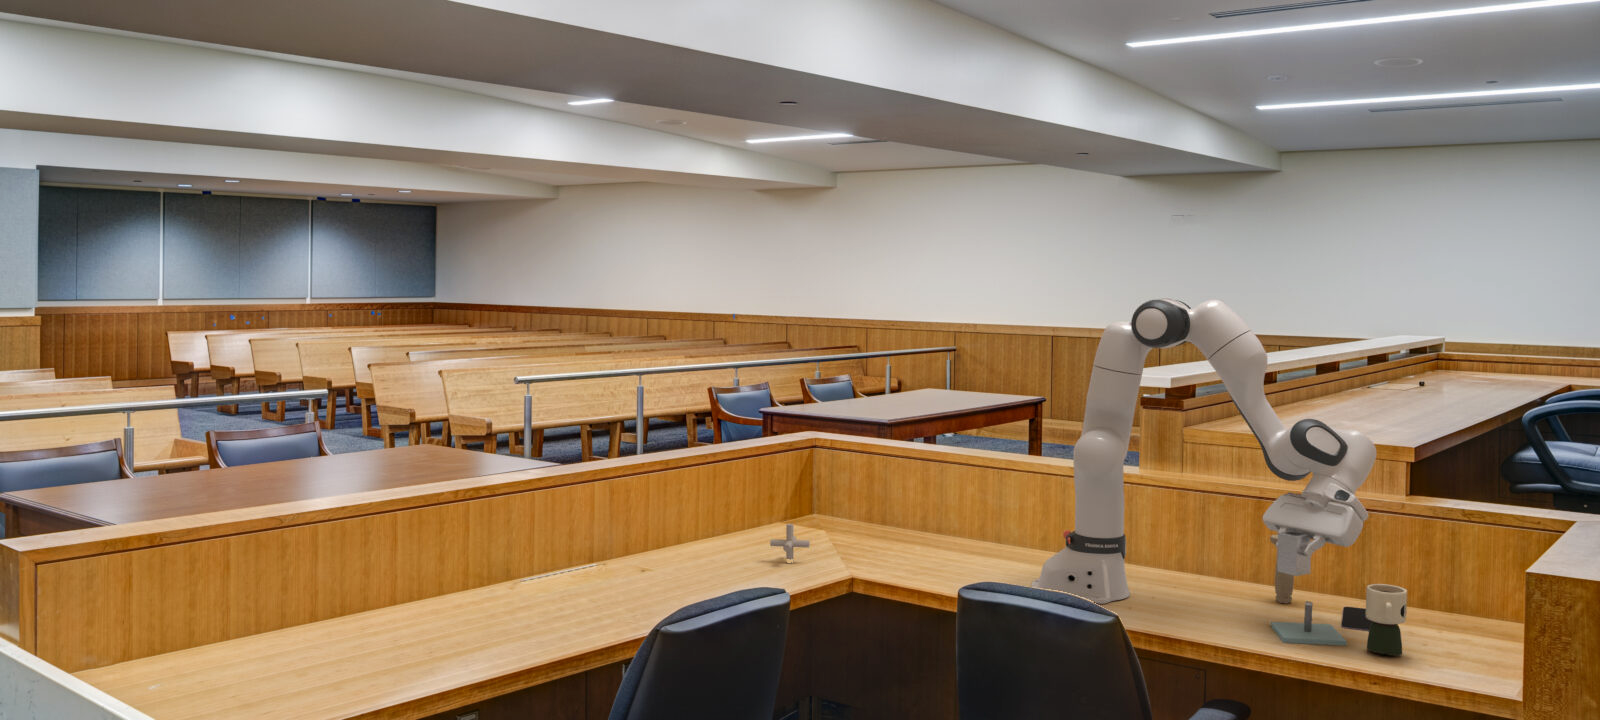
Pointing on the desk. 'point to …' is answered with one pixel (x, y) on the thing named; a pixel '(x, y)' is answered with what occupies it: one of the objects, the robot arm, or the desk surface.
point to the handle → (1282, 581)
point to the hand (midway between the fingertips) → (1292, 551)
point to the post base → (1308, 631)
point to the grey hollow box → (1293, 553)
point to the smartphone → (1355, 619)
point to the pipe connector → (789, 542)
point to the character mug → (1385, 617)
